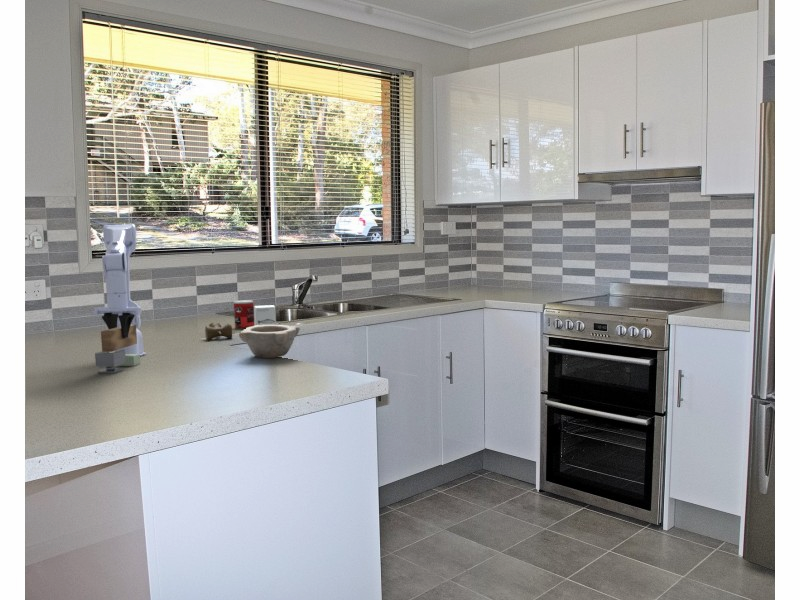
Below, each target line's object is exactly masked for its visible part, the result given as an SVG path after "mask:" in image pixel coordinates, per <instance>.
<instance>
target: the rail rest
mask: <svg viewBox="0 0 800 600" xmlns="http://www.w3.org/2000/svg"><path fill="white" fill-rule="evenodd" d="M125 358H126V363H124V364H121V365H118V366H121V367H122V366H123V367H124V366H128V367H129V366H131V367H133V366H134V367H135V366H137V365H140V364H141V356H140V354H125Z"/></svg>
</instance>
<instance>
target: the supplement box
mask: <svg viewBox="0 0 800 600" xmlns="http://www.w3.org/2000/svg"><path fill="white" fill-rule="evenodd" d="M276 310H277V309H276V306H275V305H274V304H273V305H271V304H269V305H266V304H264V305H254V326H255V325H277V314H276V313H277V312H276Z"/></svg>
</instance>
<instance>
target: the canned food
mask: <svg viewBox="0 0 800 600" xmlns="http://www.w3.org/2000/svg"><path fill="white" fill-rule="evenodd" d="M254 306H255V305H254V300H253V299H252V300H251V299H246V300H245V299H243V300H234V301H233V315H234V316H233V317H234V326H235V327H234V328H235V329H237V328H248V327H252V326H255V318H254Z"/></svg>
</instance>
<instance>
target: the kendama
mask: <svg viewBox="0 0 800 600" xmlns="http://www.w3.org/2000/svg"><path fill="white" fill-rule="evenodd" d="M204 329H205V330H204V331H205V332H204V333H205V338H206V340H207V341H211V340H212V339H214V338H217V337H224V338H228V339H232V338H233V326H232V324H231V322H229V323H226V324H225V325H224V326H222V325H221V324H220V323H219V322H217V321H215V322H214V321H213V322H211V323H209V325H206V326H205V328H204Z"/></svg>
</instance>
